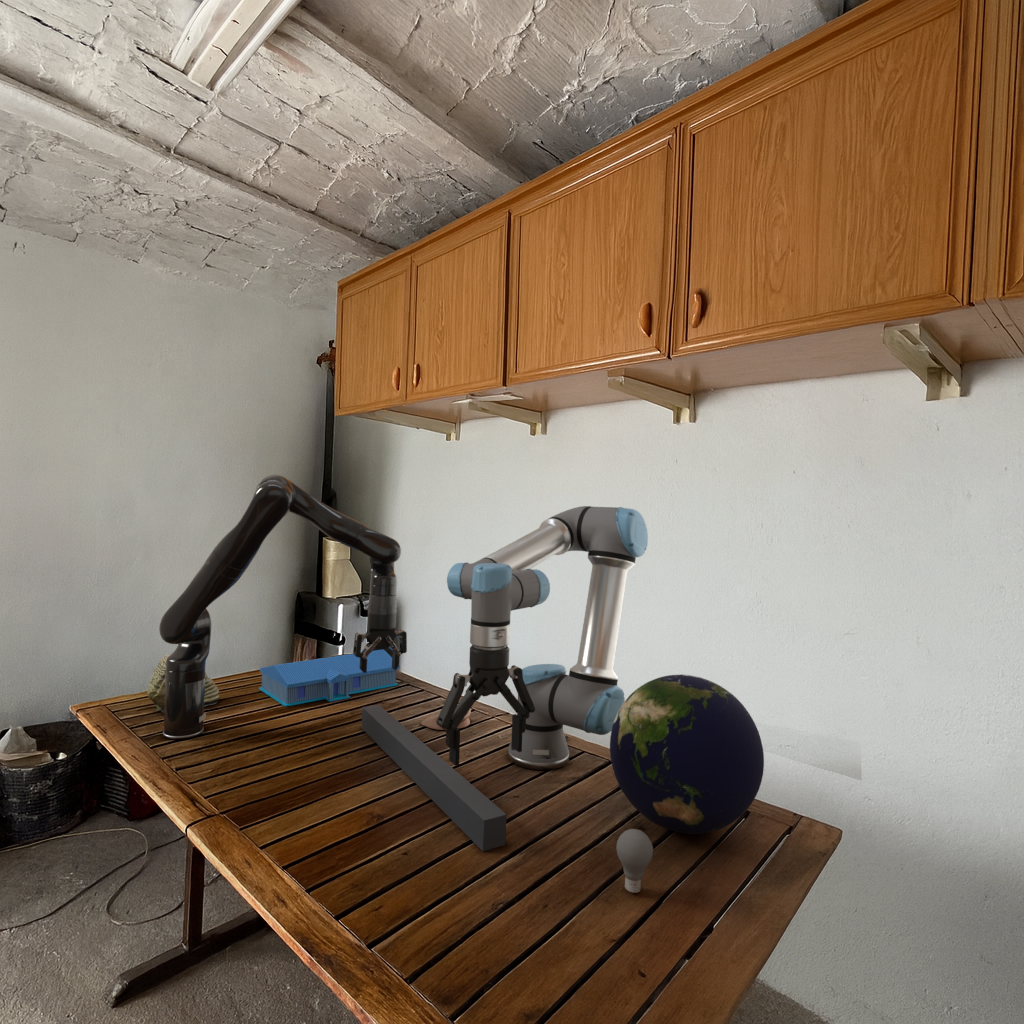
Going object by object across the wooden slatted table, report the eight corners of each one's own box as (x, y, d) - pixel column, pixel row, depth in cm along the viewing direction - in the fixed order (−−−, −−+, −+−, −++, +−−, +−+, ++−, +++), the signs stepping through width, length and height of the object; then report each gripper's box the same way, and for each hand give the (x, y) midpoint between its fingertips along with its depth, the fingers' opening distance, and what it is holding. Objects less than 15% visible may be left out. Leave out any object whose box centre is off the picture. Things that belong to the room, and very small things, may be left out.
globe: (589, 842, 120) (597, 685, 120) (623, 780, 148) (629, 652, 147) (758, 884, 109) (767, 711, 108) (760, 808, 137) (767, 670, 136)
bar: (361, 728, 174) (362, 707, 174) (378, 725, 177) (379, 704, 176) (482, 851, 116) (484, 820, 116) (505, 845, 118) (506, 814, 118)
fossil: (144, 707, 182) (145, 655, 182) (212, 696, 194) (213, 647, 194) (151, 716, 175) (153, 662, 175) (221, 703, 188) (223, 653, 188)
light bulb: (610, 879, 108) (613, 822, 108) (644, 879, 109) (647, 822, 109) (619, 902, 102) (622, 840, 102) (655, 901, 103) (658, 840, 103)
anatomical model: (417, 713, 176) (431, 700, 187) (417, 727, 176) (430, 714, 187) (463, 718, 173) (474, 705, 184) (463, 733, 173) (473, 719, 184)
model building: (289, 709, 186) (291, 675, 185) (258, 688, 204) (259, 657, 204) (403, 687, 212) (405, 657, 212) (366, 670, 230) (368, 643, 230)
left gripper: (361, 614, 164) (358, 676, 164) (412, 612, 171) (409, 671, 171) (352, 609, 170) (349, 669, 170) (401, 607, 178) (399, 664, 178)
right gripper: (437, 657, 110) (434, 777, 111) (554, 643, 123) (551, 750, 124) (420, 647, 117) (417, 761, 117) (533, 635, 130) (530, 737, 130)
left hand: (379, 670), depth 171 cm, fingers open, 8 cm apart
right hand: (486, 756), depth 121 cm, fingers open, 13 cm apart
